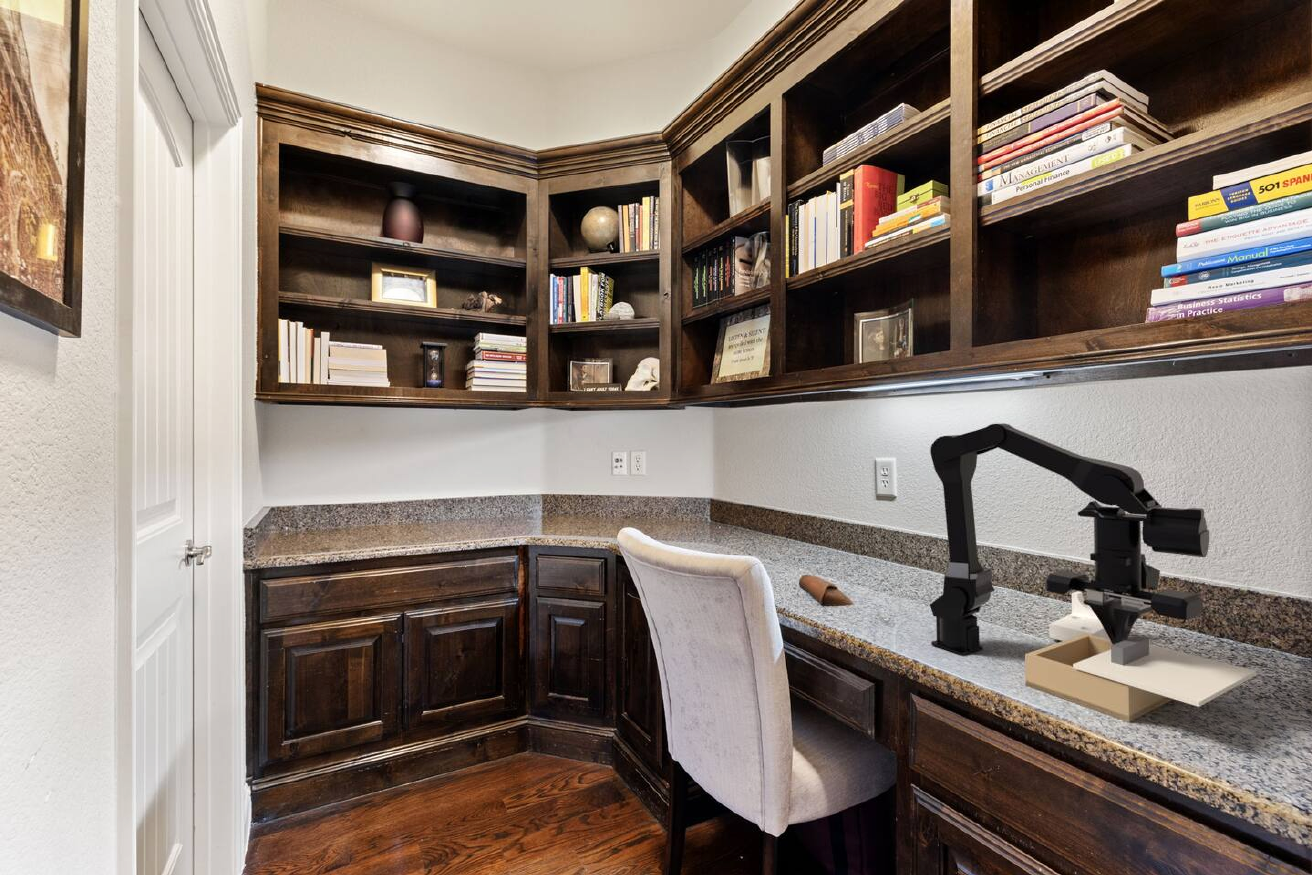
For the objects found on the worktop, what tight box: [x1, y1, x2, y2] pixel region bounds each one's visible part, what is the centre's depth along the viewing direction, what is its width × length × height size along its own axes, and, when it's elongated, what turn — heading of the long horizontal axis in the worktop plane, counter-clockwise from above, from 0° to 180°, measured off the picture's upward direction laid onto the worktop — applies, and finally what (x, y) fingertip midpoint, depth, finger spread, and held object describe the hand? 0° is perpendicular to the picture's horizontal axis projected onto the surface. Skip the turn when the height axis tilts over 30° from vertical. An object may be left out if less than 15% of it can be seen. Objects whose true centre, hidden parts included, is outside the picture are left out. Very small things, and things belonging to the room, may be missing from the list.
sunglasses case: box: [798, 574, 855, 607], centre depth 148 cm, size 18×7×7 cm
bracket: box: [1048, 590, 1110, 642], centre depth 115 cm, size 13×7×8 cm, turn 125°
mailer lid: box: [1073, 635, 1257, 708], centre depth 87 cm, size 15×19×3 cm
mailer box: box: [1024, 634, 1174, 723], centre depth 94 cm, size 14×18×5 cm
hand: (1118, 648), depth 93 cm, fingers closed
